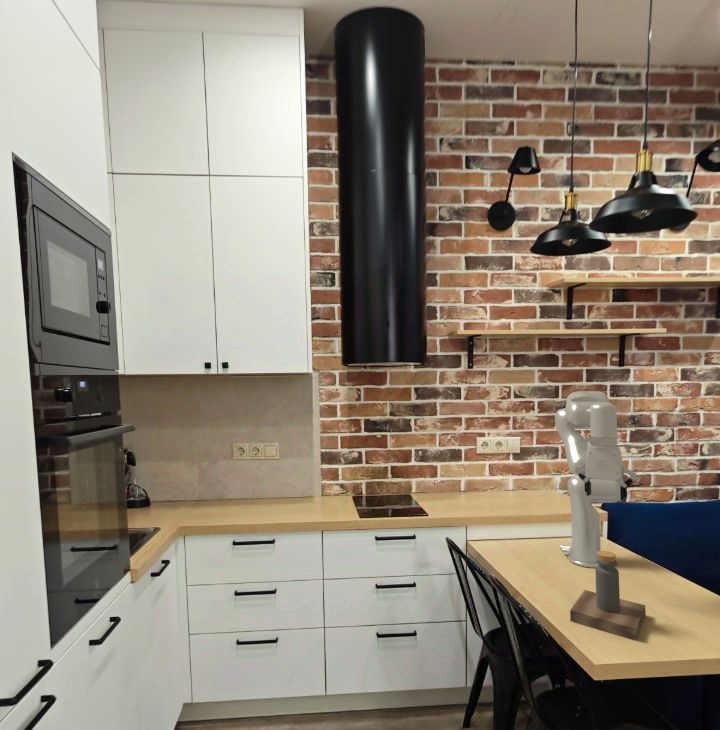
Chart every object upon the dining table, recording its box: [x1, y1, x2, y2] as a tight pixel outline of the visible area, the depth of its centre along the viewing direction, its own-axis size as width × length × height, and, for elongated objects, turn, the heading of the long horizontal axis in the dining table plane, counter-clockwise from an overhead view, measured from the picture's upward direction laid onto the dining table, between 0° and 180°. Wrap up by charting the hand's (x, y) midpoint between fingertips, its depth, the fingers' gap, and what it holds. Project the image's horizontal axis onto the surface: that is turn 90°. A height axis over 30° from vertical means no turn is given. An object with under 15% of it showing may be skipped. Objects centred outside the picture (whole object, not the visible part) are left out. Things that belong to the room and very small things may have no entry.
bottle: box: [595, 550, 621, 612], centre depth 131 cm, size 6×6×15 cm
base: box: [569, 589, 647, 642], centre depth 131 cm, size 16×16×3 cm
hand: (605, 497), depth 146 cm, fingers open, 9 cm apart
